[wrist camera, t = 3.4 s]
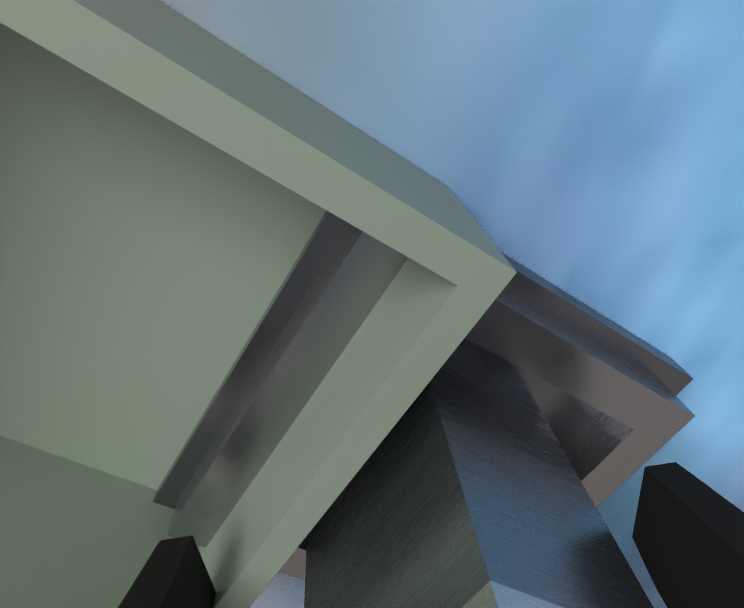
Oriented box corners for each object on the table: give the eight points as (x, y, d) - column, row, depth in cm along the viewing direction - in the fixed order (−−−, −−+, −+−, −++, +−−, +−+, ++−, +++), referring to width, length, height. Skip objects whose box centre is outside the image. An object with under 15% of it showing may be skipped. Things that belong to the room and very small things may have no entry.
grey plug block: (534, 399, 13) (722, 727, 7) (420, 524, 15) (489, 875, 9) (416, 338, 12) (515, 663, 6) (308, 480, 14) (296, 848, 8)
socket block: (670, 356, 14) (725, 409, 12) (451, 577, 18) (466, 644, 16) (351, 159, 11) (358, 187, 9) (162, 473, 15) (138, 541, 13)
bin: (448, 187, 12) (516, 272, 7) (224, 511, 15) (188, 684, 11) (-136, -190, 8) (-602, -413, 4) (-234, 351, 12) (-521, 516, 8)
